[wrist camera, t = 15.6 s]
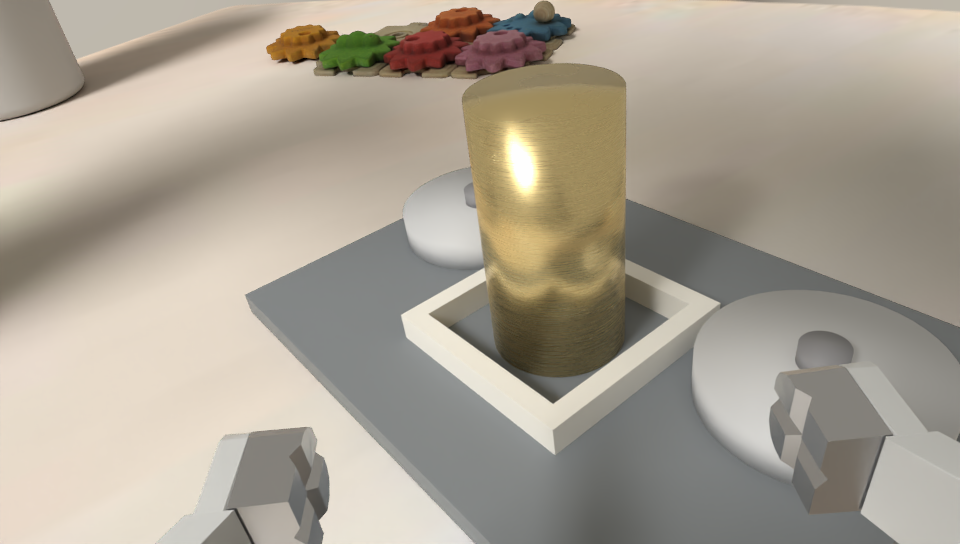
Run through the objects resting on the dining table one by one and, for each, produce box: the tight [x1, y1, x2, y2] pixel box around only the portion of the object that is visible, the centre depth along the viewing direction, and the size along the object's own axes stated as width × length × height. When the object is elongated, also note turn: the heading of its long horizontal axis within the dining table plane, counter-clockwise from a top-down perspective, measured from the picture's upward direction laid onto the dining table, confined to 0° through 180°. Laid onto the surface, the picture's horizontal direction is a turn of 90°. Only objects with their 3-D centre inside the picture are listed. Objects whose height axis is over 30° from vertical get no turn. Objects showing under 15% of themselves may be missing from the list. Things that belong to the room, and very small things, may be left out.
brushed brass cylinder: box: [462, 63, 626, 377], centre depth 24 cm, size 5×5×10 cm
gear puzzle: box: [266, 1, 575, 79], centre depth 66 cm, size 31×16×4 cm, turn 67°
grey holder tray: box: [245, 167, 960, 544], centre depth 27 cm, size 26×18×3 cm
